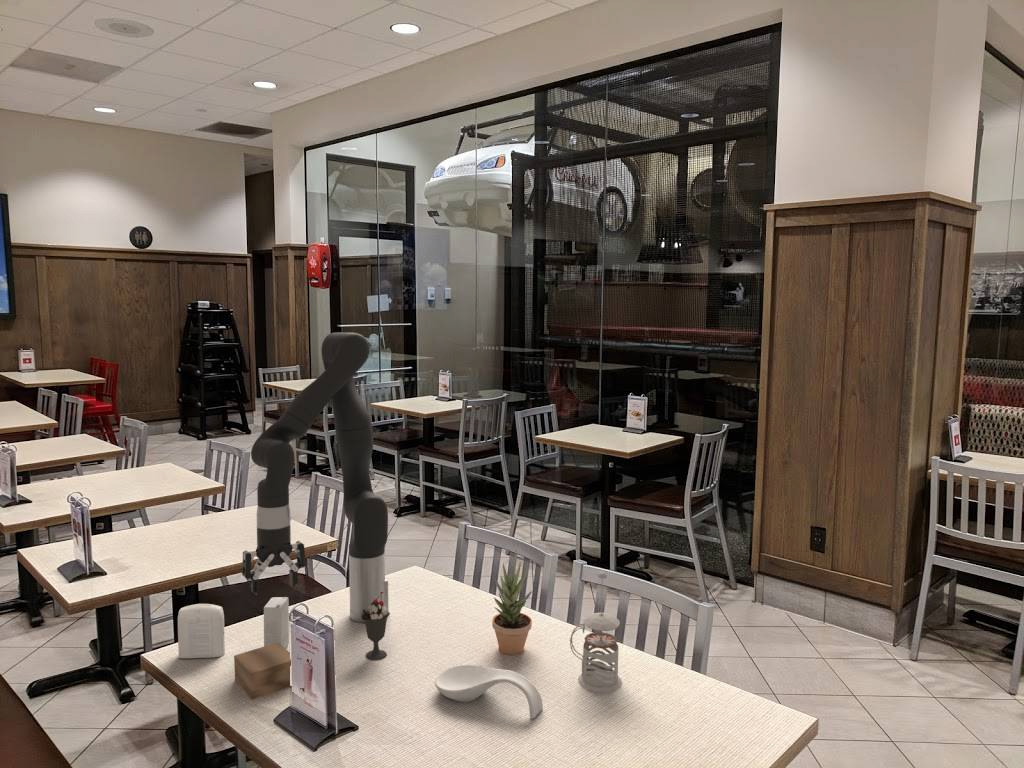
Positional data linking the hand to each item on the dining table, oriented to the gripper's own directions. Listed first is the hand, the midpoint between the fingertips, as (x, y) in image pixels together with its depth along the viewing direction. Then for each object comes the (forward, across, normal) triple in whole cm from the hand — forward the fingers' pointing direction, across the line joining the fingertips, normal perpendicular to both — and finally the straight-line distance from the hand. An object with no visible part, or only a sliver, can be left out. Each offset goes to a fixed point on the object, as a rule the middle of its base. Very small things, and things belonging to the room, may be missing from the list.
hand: (274, 589), depth 173 cm
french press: (+14, -53, +55) cm, 77 cm away
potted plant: (+14, -46, +32) cm, 58 cm away
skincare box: (+15, 0, 0) cm, 15 cm away
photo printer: (+15, +15, -8) cm, 23 cm away
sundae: (+15, -18, +16) cm, 29 cm away
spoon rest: (+15, -29, +47) cm, 57 cm away
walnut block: (+15, +7, +13) cm, 21 cm away
